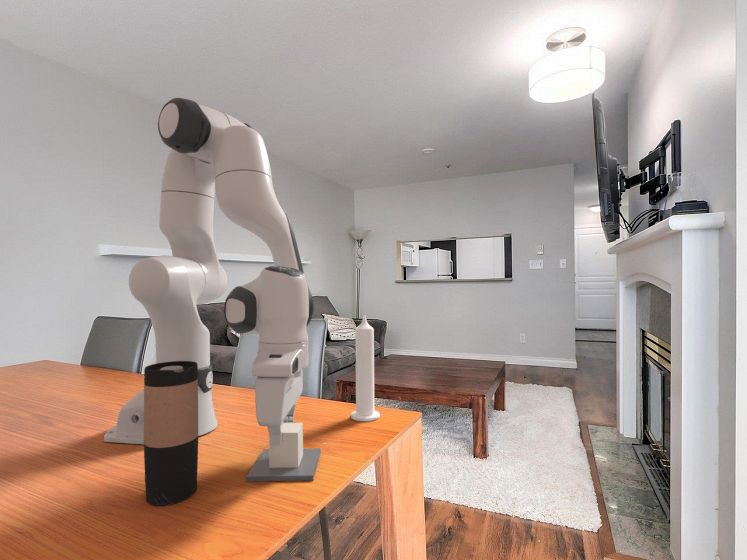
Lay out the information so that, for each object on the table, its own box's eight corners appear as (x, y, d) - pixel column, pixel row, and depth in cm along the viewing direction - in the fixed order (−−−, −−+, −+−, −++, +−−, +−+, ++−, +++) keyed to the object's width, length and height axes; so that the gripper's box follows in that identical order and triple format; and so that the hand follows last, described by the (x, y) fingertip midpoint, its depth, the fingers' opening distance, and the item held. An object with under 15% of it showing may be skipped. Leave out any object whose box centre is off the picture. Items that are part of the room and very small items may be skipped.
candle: (376, 422, 93) (375, 316, 94) (347, 420, 95) (346, 315, 95) (382, 413, 100) (381, 313, 101) (354, 411, 102) (354, 313, 102)
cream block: (269, 467, 69) (269, 433, 69) (276, 455, 74) (275, 423, 74) (298, 467, 69) (297, 432, 69) (303, 455, 74) (302, 422, 74)
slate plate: (246, 481, 66) (246, 476, 66) (263, 453, 77) (263, 449, 77) (313, 480, 66) (313, 475, 66) (320, 452, 77) (320, 448, 77)
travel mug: (157, 482, 66) (157, 361, 66) (205, 480, 66) (205, 360, 66) (133, 508, 58) (133, 371, 58) (188, 505, 59) (187, 369, 59)
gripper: (279, 347, 82) (279, 414, 82) (248, 368, 61) (247, 458, 61) (310, 347, 82) (309, 414, 82) (289, 368, 61) (288, 458, 61)
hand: (282, 433), depth 71 cm, fingers open, 8 cm apart
